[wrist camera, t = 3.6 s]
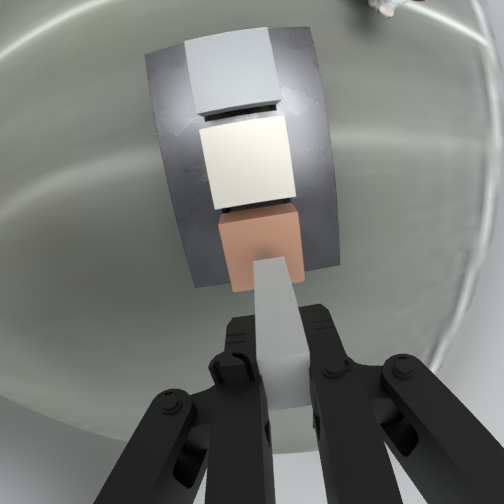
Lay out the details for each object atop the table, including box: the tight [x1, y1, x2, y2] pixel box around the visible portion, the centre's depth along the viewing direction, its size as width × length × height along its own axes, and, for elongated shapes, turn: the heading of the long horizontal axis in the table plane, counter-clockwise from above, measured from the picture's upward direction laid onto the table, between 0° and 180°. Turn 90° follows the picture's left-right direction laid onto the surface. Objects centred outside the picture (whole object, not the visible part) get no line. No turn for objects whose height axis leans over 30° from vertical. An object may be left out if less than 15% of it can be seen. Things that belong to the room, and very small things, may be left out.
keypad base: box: [145, 27, 340, 288], centre depth 20 cm, size 19×12×3 cm, turn 9°
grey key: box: [184, 27, 282, 117], centre depth 15 cm, size 5×5×5 cm
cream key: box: [199, 115, 296, 209], centre depth 17 cm, size 5×5×5 cm
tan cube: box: [218, 199, 305, 293], centre depth 19 cm, size 5×5×5 cm
